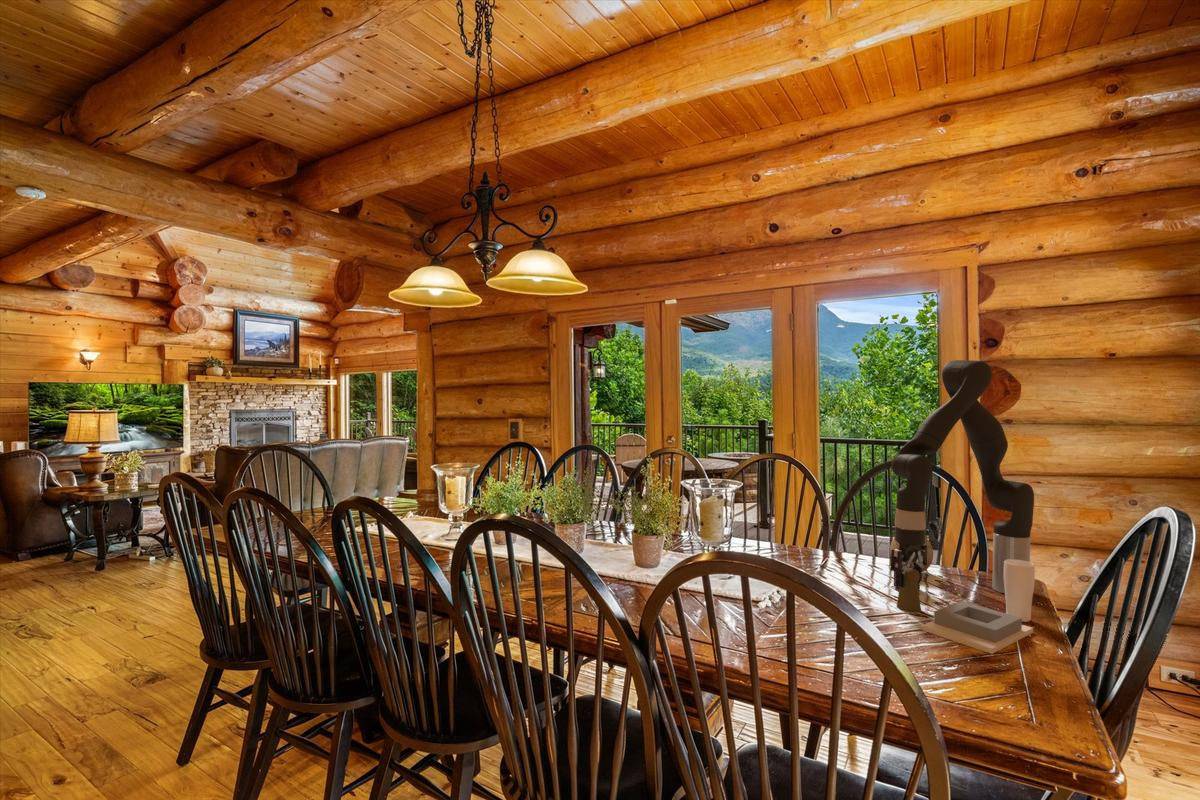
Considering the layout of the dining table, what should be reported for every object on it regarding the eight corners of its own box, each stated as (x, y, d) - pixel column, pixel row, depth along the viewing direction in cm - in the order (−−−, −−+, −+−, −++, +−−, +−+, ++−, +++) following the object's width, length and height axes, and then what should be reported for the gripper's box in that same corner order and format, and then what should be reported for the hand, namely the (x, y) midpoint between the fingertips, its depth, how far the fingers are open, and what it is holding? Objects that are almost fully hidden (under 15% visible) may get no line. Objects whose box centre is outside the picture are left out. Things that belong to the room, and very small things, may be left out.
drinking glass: (1030, 616, 158) (1031, 561, 158) (1036, 625, 152) (1037, 567, 152) (1000, 612, 161) (1001, 557, 161) (1005, 621, 155) (1006, 564, 155)
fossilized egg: (922, 567, 202) (922, 524, 201) (940, 579, 189) (941, 533, 189) (883, 566, 203) (884, 523, 202) (898, 578, 190) (899, 532, 190)
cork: (924, 613, 160) (924, 572, 160) (900, 611, 162) (900, 571, 161) (917, 605, 166) (917, 566, 166) (893, 603, 168) (894, 565, 167)
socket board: (964, 612, 161) (965, 597, 161) (1033, 632, 148) (1033, 615, 148) (921, 630, 149) (922, 613, 149) (991, 653, 136) (992, 635, 136)
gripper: (910, 520, 171) (909, 576, 171) (882, 526, 163) (881, 584, 163) (937, 525, 164) (935, 583, 164) (909, 531, 156) (908, 592, 157)
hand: (908, 584), depth 164 cm, fingers open, 8 cm apart
